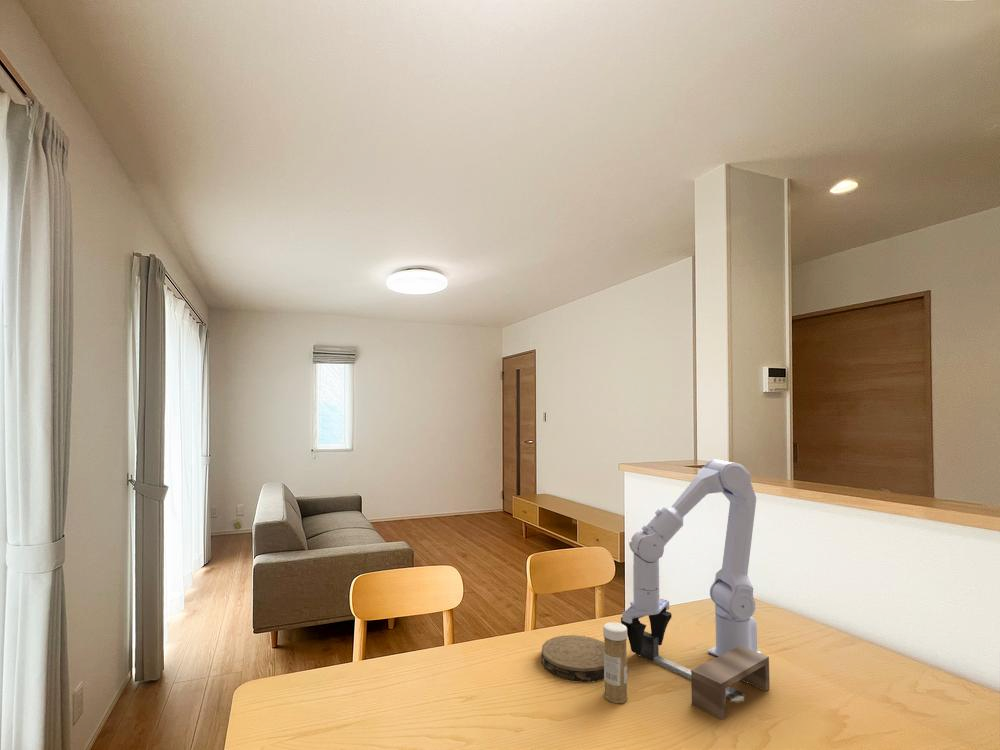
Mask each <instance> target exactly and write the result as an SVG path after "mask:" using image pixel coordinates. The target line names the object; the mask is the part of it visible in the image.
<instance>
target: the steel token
mask: <svg viewBox="0 0 1000 750" xmlns="http://www.w3.org/2000/svg"><path fill="white" fill-rule="evenodd" d="M727 700H728V701H727ZM743 700H744V701H745V694H744V692H743V691H741V690H739V689H738V688H735V687H732V686H728V687H727V688H726V701H727V702H729V701H733V702H741V703H743V702H744V701H743ZM742 701H743V702H742ZM733 702H732V703H733Z"/></svg>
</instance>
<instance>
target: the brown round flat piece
mask: <svg viewBox="0 0 1000 750" xmlns="http://www.w3.org/2000/svg"><path fill="white" fill-rule="evenodd" d="M541 665H542V666H543V668H544V670H546V671H547V672H548V673H549V674H550V675H553V676H554V677H556V678H558V679H561V680H566V681H570V682H576V683H593V682H592V681H595V682H599V681H603V680H605V679H604V641H602V640H600V639H596V638H594V637H589V636H585V635H575V634H572V635H571V634H570V635H569V634H568V635H560V636H559V635H558V636H555V637H552V638H549V639H548V640H546V641H545V642H544V643H543V644H542V646H541ZM602 679H603V680H602ZM598 680H599V681H598Z"/></svg>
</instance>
